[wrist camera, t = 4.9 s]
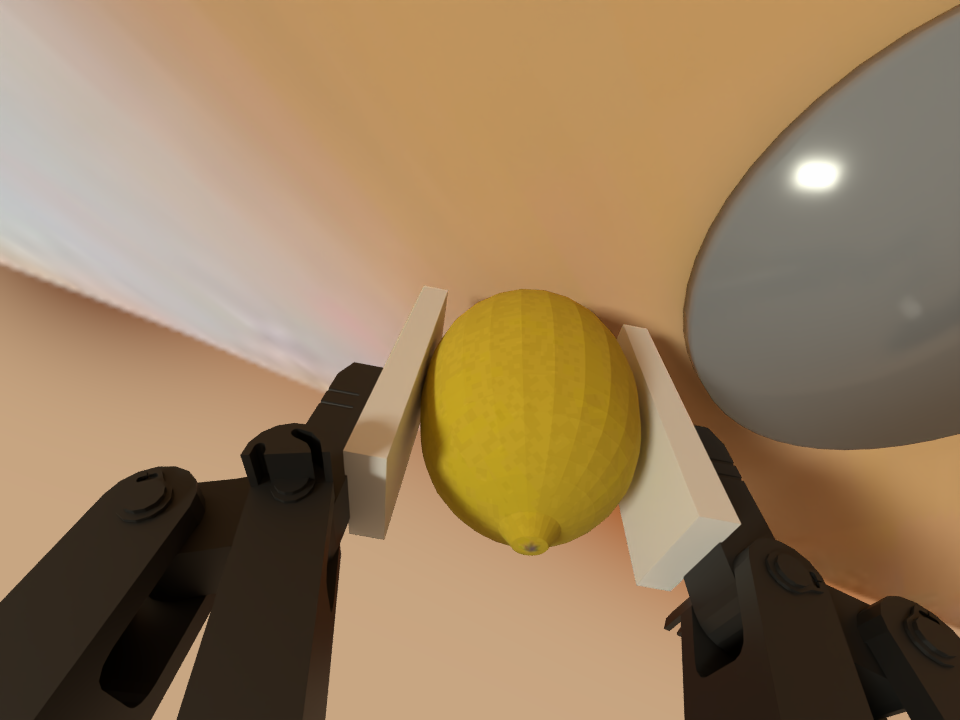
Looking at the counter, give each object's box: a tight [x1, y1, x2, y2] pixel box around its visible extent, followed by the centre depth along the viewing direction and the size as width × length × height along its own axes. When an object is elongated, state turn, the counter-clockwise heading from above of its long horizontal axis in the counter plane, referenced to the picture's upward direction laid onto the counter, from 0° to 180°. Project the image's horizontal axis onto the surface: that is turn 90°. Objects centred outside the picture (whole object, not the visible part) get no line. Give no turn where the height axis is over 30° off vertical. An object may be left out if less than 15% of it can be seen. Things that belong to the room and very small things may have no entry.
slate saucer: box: [683, 4, 960, 450], centre depth 12 cm, size 14×14×1 cm
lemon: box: [420, 289, 641, 556], centre depth 10 cm, size 6×6×8 cm
